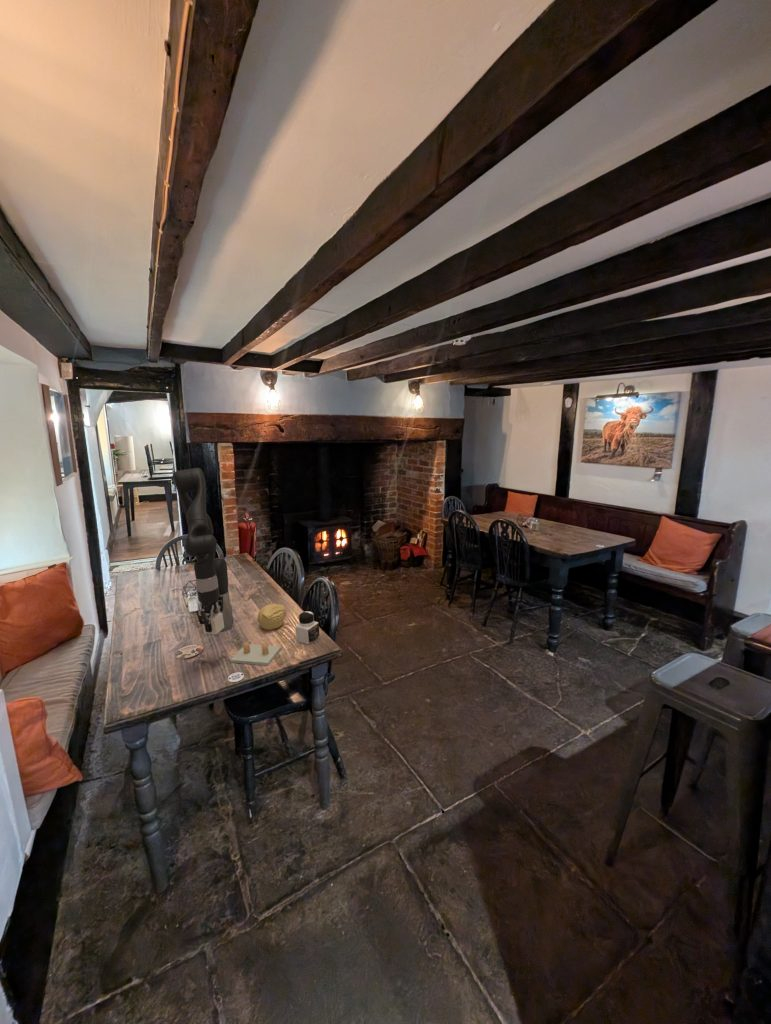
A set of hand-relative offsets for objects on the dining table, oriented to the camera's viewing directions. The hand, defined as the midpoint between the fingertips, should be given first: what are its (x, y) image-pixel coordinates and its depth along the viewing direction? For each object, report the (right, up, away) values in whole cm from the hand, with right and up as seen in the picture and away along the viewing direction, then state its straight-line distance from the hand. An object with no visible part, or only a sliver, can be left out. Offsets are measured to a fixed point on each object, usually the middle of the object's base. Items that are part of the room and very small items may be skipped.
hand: (213, 627), depth 160 cm
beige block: (0, -1, 0) cm, 1 cm away
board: (+14, -13, +7) cm, 21 cm away
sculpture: (+14, -8, +31) cm, 35 cm away
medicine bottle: (+33, -10, +18) cm, 39 cm away
